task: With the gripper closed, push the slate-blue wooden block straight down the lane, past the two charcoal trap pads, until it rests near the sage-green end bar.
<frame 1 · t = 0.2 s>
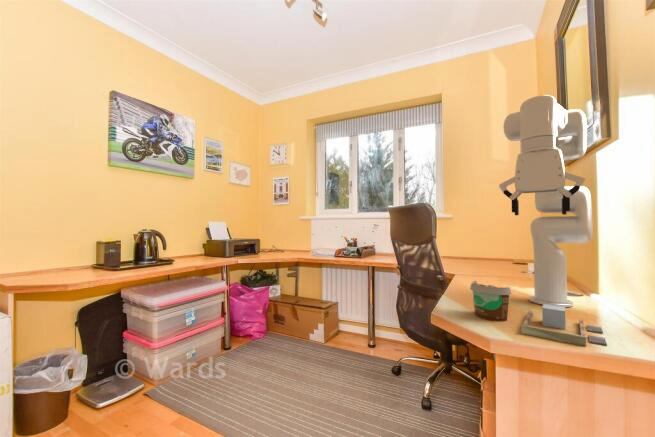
hand: (539, 214, 73), 31 cm above the table, tool pointing down, fingers open, 9 cm apart
food container: (485, 318, 88), on the table
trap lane: (553, 328, 79), on the table
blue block: (554, 325, 82), on the table
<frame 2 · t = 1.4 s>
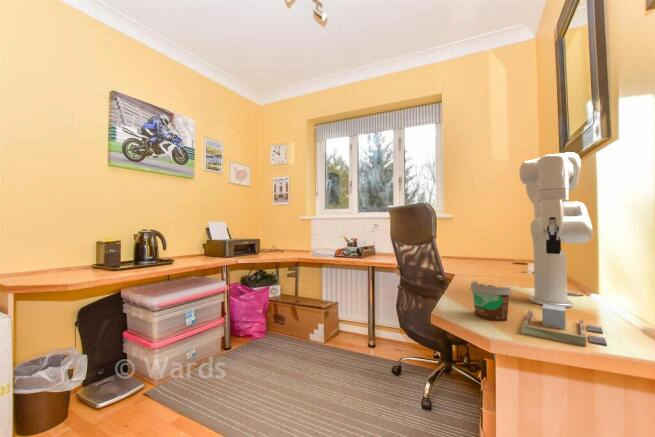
hand: (553, 252, 89), 20 cm above the table, tool pointing down, fingers open, 8 cm apart
nothing on the table moved.
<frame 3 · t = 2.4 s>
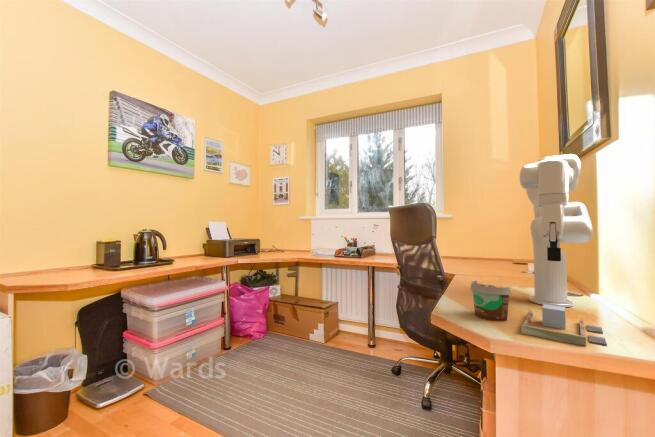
hand: (554, 260, 88), 17 cm above the table, tool pointing down, fingers closed
nothing on the table moved.
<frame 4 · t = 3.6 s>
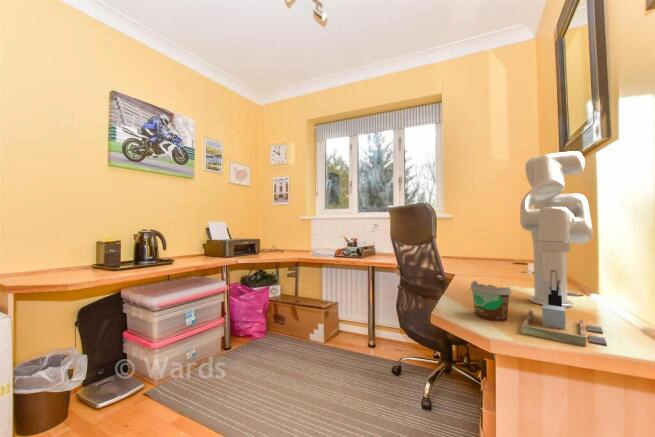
hand: (555, 307, 88), 3 cm above the table, tool pointing down, fingers closed
nothing on the table moved.
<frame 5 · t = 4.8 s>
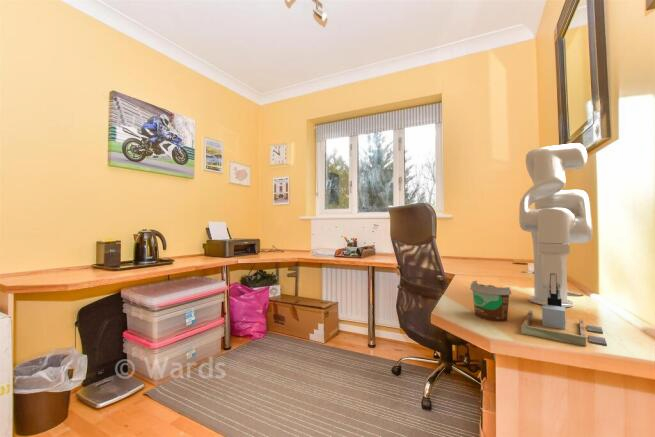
hand: (554, 311, 85), 3 cm above the table, tool pointing down, fingers closed
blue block: (554, 325, 82), on the table, touching gripper
everything else where it was.
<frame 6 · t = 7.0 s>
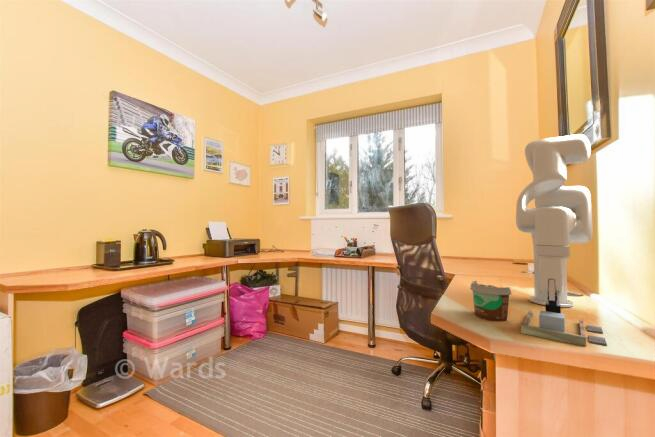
hand: (553, 319, 78), 3 cm above the table, tool pointing down, fingers closed
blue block: (552, 333, 75), on the table, touching gripper
everything else where it was.
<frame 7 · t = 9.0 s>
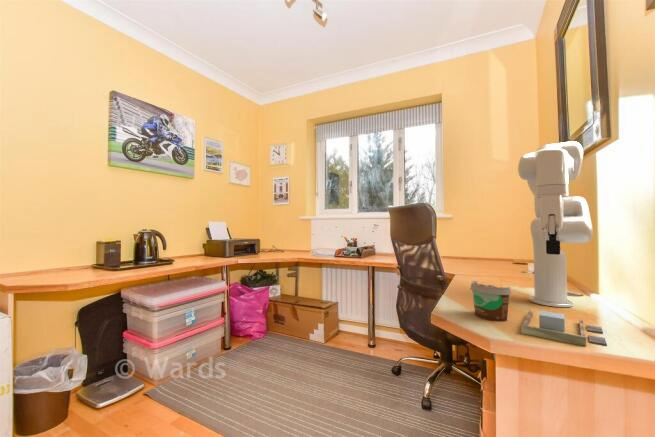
hand: (553, 253, 85), 20 cm above the table, tool pointing down, fingers closed
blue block: (552, 334, 75), on the table
everything else where it was.
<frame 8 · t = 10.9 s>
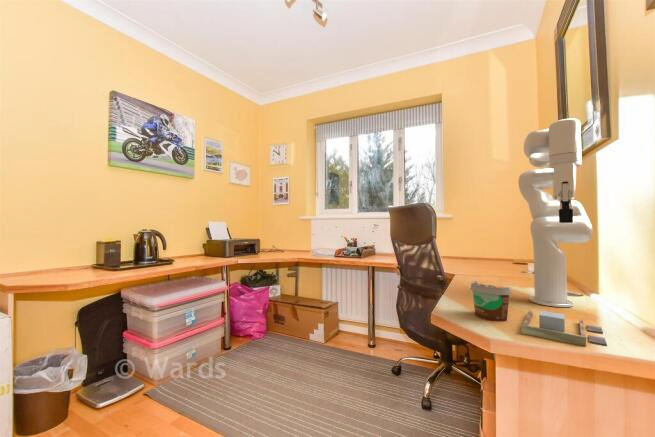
hand: (566, 222, 86), 29 cm above the table, tool pointing down, fingers closed
nothing on the table moved.
at the end: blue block 0.3 cm from the target spot, on the table; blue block tilted 0°; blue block moved 9.0 cm from its start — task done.
